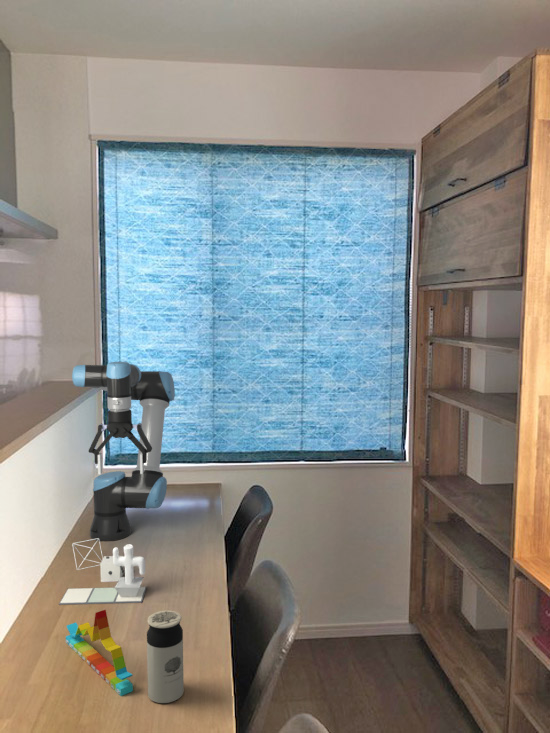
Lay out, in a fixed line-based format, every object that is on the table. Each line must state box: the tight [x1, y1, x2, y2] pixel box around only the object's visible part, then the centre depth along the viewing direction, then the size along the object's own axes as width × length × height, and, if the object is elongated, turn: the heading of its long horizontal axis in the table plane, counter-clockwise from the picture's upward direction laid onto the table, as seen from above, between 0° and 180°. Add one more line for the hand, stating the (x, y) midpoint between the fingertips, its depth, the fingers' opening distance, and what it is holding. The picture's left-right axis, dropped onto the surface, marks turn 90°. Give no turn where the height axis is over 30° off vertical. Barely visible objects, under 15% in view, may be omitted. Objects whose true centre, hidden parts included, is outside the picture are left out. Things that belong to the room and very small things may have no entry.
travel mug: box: [146, 609, 185, 704], centre depth 147 cm, size 8×8×18 cm
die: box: [99, 555, 125, 583], centre depth 208 cm, size 6×6×6 cm
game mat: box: [58, 586, 147, 606], centre depth 196 cm, size 10×24×1 cm, turn 93°
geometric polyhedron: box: [71, 538, 104, 571], centre depth 219 cm, size 10×9×8 cm
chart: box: [65, 609, 134, 697], centre depth 158 cm, size 30×3×15 cm, turn 41°
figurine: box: [112, 543, 146, 597], centre depth 196 cm, size 7×9×15 cm
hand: (121, 473), depth 215 cm, fingers open, 13 cm apart
